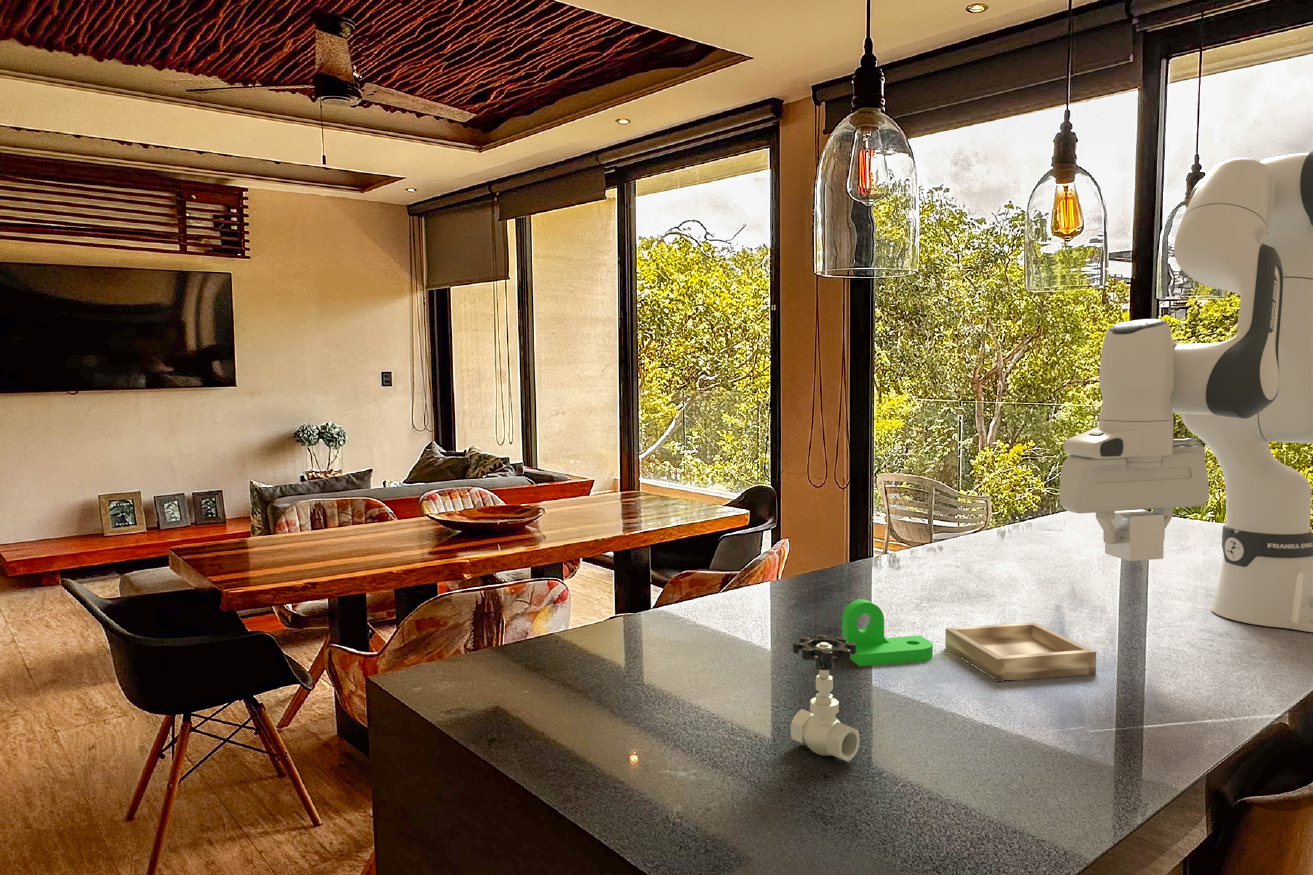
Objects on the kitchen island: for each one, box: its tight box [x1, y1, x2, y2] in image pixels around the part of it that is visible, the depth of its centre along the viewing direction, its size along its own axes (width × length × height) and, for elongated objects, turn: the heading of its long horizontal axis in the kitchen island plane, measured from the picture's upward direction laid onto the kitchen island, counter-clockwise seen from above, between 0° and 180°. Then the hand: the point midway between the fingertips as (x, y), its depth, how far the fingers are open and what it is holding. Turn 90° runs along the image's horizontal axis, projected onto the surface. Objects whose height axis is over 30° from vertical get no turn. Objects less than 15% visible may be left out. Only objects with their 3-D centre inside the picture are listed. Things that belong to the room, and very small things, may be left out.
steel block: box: [1104, 509, 1165, 562], centre depth 121 cm, size 5×5×6 cm
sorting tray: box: [944, 621, 1097, 682], centre depth 123 cm, size 14×14×3 cm
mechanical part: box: [841, 598, 933, 667], centre depth 125 cm, size 12×6×8 cm, turn 101°
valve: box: [790, 633, 860, 762], centre depth 94 cm, size 7×7×12 cm
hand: (1133, 541), depth 121 cm, fingers closed on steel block, 5 cm apart
